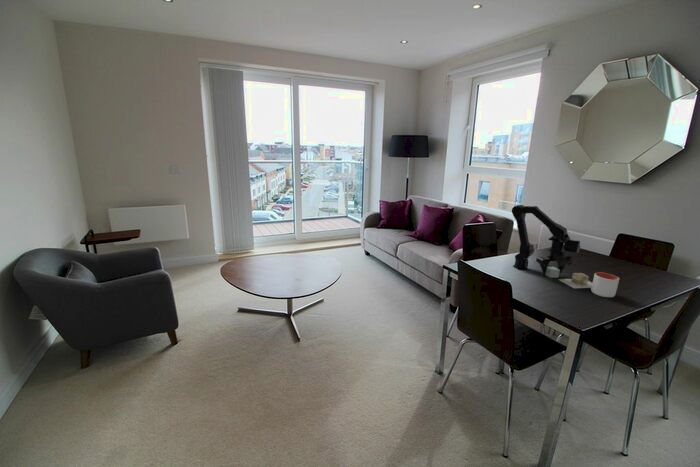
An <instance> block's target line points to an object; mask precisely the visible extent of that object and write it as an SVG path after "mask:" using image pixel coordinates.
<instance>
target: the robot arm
mask: <svg viewBox="0 0 700 467" xmlns="http://www.w3.org/2000/svg"><path fill="white" fill-rule="evenodd" d="M511 213H512V216H513V218H514V219H515V221H516V225H517V231H518V232H517V233H518V236H519V241H520V242H519V243H520V245H519V253H517V254H515V255H514V259H515V260H514V261H515V262H514V264H512V267H513V266H514V268H515V269H517V270H519V271H520V270H521V271H522V270H523V271H524V270H527V271H528V270H529V268H528V265H529V258H530V257H531V256H533V255H534V252H535V249H534V244H531V243H530V240H529V236H528V230H527V224H526V220H525V219H526V214H531V215H533V216H534V217H535V218H537V219H538V221H540V222H541V223H542V224H543V225H545V226H546V227H547V229H548V230H549V232H550V233H551V235H552V236H551V237H549V238H548V239H547V240H548V241H551V246H550V248H548V251H549V255H547V257H544V256H538V257H536V260H535V262H536V263H538V264H539V266H540V267H541V271H542V274H543V275H544V276H546V275H545V274H546V271H547V267H550V265H549V264H550V263H557V269H559V270H560V273H559V275H561V274H562V272H563V271H564V269H566V267H568V266H570V265H573V257H572V256H570V255H569V256H567V255H565V252H569V253H574V254H579V252H580V249H581V240H576V239H575V240H574V239H571V237H570V235H569V234H568V229H567V228H566V227H565V226H563V225H562V224H559V223H557V222H555V221H554V220H553V219H552V218H551V217H550V216H548V215H547V214H546V213H545V212H543V211H542V210H541V209H540V207H539V206H537V205H534V206H533V205H532V206H530V205H527V206H526V205H524V204H518V205H515V206H513V207H512V209H511ZM563 249H564V250H565V252H564V250H563Z"/></svg>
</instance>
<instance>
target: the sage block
mask: <svg viewBox="0 0 700 467" xmlns="http://www.w3.org/2000/svg"><path fill="white" fill-rule="evenodd" d="M559 273H560V270H559V269H558V267H555V266H548V267H547V271H546V274H545V275H544V276H546V277H548V278H551V279H553V278H554V279H555V278H559V276H560V274H559Z"/></svg>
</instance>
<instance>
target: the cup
mask: <svg viewBox="0 0 700 467" xmlns="http://www.w3.org/2000/svg"><path fill="white" fill-rule="evenodd" d="M619 282H620V277H618V276H617V275H614V274H611V273H607V272H595V273H594V275H593V280H592V282H591V283H592V287H591V288H590V290H591V293H593V294H594V295H597V296H599V297H603V298H614V297H615V296H616V293H617V290H618V286H619Z"/></svg>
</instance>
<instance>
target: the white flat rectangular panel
mask: <svg viewBox="0 0 700 467" xmlns="http://www.w3.org/2000/svg"><path fill="white" fill-rule="evenodd" d="M557 280H558V281H559V282H561V283H564V284H566V285H567V286H569V287H571V288H573V289H591V287H592V283H593V282H591V281H590V280H588V282H587V285H577V284H575V283H573V282H571V281H572V278H560V279H557Z"/></svg>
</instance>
